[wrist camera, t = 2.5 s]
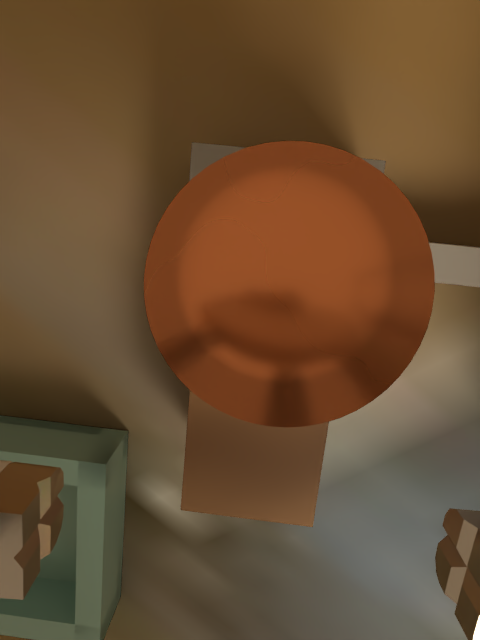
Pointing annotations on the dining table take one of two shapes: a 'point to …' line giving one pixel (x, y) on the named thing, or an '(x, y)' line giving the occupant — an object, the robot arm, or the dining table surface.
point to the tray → (72, 530)
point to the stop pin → (289, 284)
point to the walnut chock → (251, 467)
